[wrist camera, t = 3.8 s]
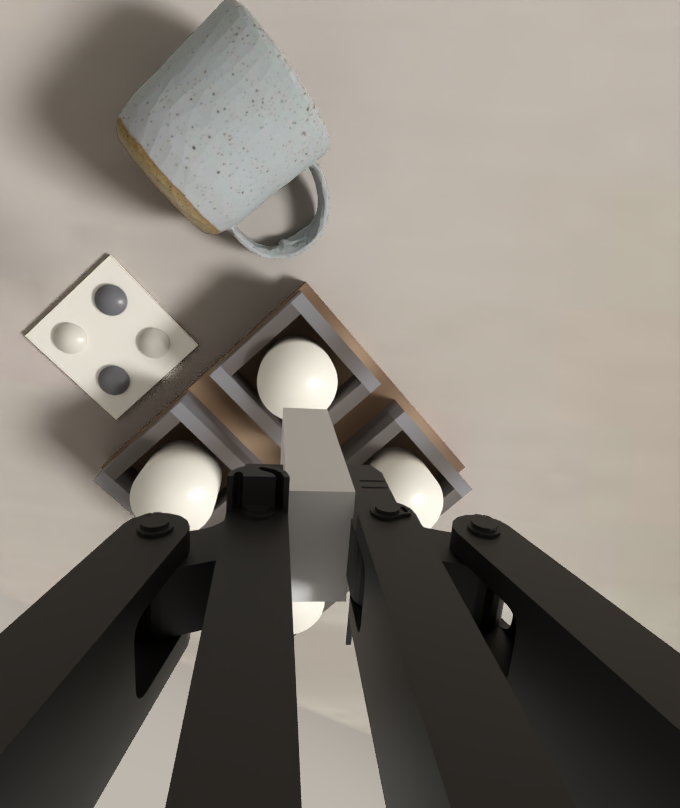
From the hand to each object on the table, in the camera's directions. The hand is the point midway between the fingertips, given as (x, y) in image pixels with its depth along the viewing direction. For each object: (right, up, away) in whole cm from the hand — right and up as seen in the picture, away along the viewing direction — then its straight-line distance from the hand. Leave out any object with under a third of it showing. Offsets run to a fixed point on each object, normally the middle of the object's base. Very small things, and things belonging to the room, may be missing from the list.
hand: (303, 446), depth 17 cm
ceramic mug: (-4, +15, +12) cm, 20 cm away
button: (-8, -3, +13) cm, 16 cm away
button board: (-2, -2, +17) cm, 17 cm away
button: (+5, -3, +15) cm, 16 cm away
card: (-12, +5, +13) cm, 19 cm away
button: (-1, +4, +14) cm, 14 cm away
